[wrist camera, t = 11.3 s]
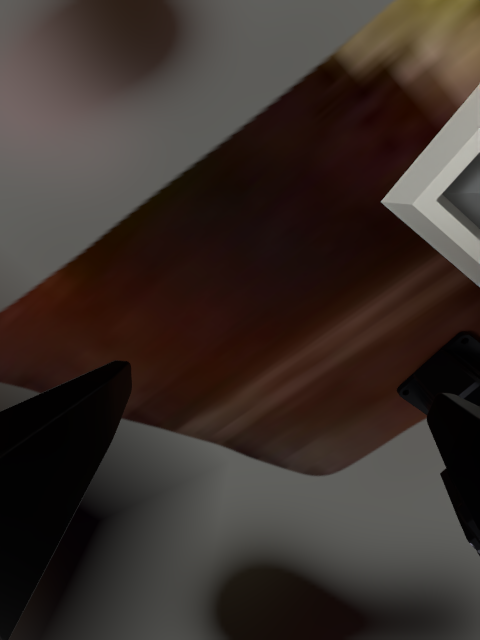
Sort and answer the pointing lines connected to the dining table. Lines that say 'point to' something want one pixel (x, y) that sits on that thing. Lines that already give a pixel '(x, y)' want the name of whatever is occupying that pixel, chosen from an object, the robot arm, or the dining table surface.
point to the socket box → (446, 191)
